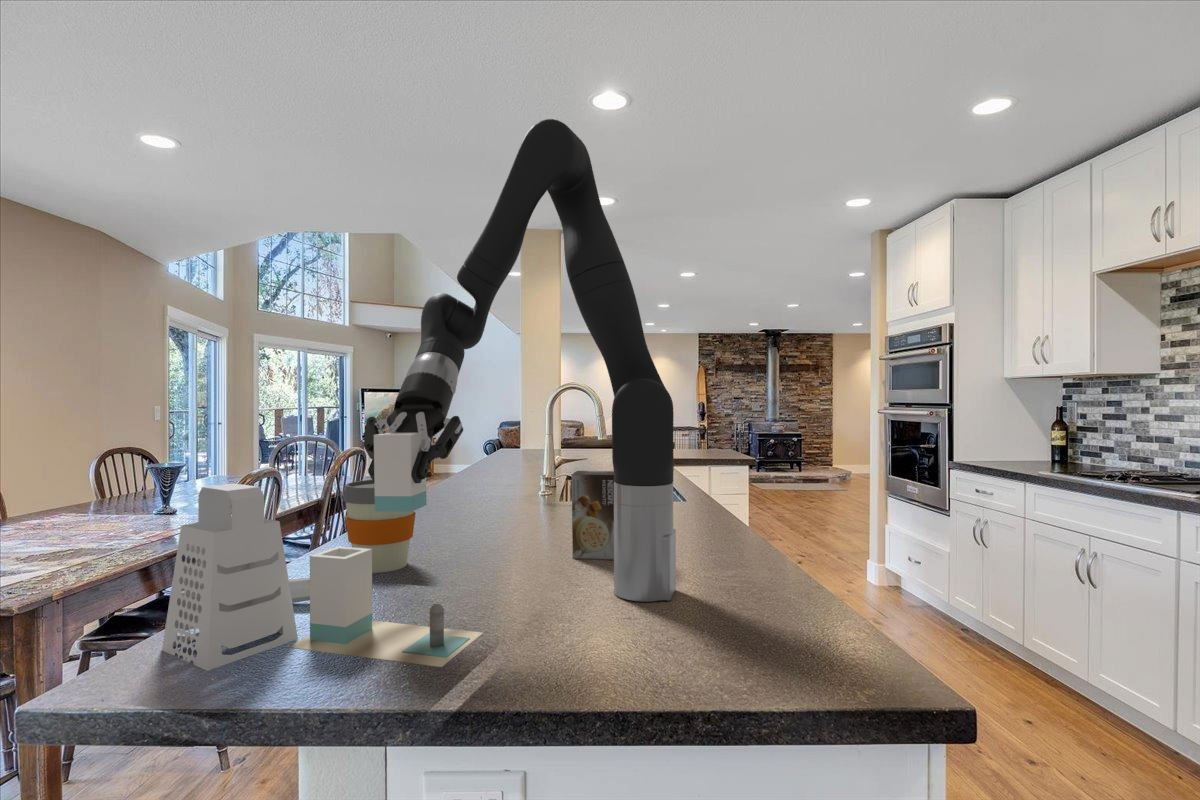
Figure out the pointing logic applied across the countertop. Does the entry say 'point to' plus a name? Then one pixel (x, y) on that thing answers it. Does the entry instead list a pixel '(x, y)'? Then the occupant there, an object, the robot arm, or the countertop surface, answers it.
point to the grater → (229, 579)
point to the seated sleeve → (340, 594)
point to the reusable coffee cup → (377, 528)
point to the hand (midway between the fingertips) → (395, 479)
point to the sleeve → (397, 473)
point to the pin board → (402, 642)
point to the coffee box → (593, 514)
